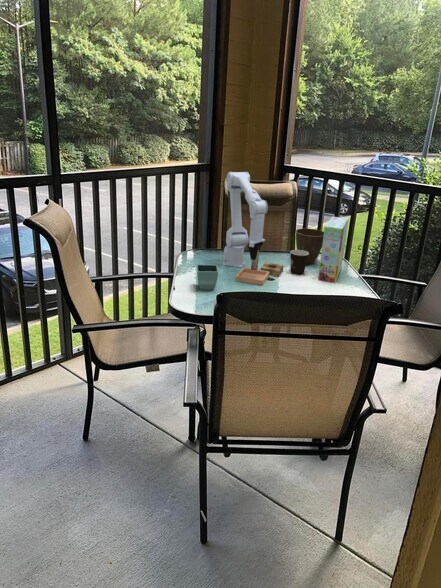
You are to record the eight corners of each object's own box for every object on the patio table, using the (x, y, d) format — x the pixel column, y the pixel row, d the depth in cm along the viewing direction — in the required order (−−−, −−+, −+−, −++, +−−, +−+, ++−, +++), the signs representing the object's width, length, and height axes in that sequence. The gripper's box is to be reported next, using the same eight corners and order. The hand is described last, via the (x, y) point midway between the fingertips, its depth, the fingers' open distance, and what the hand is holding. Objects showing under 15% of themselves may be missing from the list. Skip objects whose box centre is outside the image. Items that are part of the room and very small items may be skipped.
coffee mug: (305, 276, 215) (308, 256, 211) (287, 274, 216) (289, 254, 212) (306, 268, 225) (309, 249, 221) (289, 266, 227) (291, 247, 223)
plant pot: (295, 256, 243) (299, 226, 237) (323, 260, 238) (328, 230, 232) (289, 264, 230) (292, 233, 224) (318, 269, 225) (323, 237, 219)
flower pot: (195, 283, 199) (196, 264, 196) (215, 284, 200) (217, 264, 197) (196, 291, 191) (197, 271, 188) (217, 291, 192) (218, 271, 189)
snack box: (324, 266, 230) (331, 215, 220) (341, 269, 227) (350, 218, 217) (316, 280, 211) (324, 225, 201) (335, 283, 209) (344, 228, 199)
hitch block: (260, 273, 215) (260, 267, 214) (264, 268, 223) (265, 262, 222) (278, 276, 213) (279, 270, 211) (282, 270, 220) (283, 265, 219)
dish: (235, 280, 205) (235, 275, 204) (243, 272, 216) (243, 267, 215) (262, 285, 201) (262, 280, 200) (269, 276, 212) (269, 271, 211)
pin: (250, 269, 205) (251, 250, 202) (251, 267, 208) (252, 248, 205) (257, 270, 205) (258, 251, 201) (257, 268, 208) (259, 249, 204)
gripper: (261, 233, 192) (258, 264, 197) (269, 226, 205) (266, 255, 210) (245, 231, 194) (243, 262, 199) (254, 224, 207) (252, 252, 212)
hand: (254, 258), depth 205 cm, fingers closed on pin, 3 cm apart
